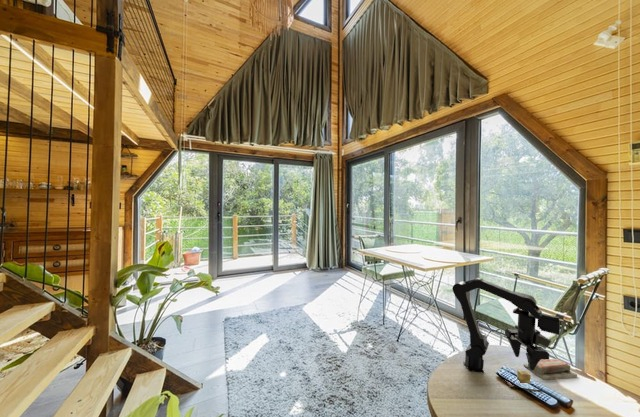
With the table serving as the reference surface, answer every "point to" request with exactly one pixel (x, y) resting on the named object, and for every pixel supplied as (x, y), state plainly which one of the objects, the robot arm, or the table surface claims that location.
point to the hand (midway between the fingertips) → (524, 363)
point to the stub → (521, 377)
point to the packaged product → (552, 369)
